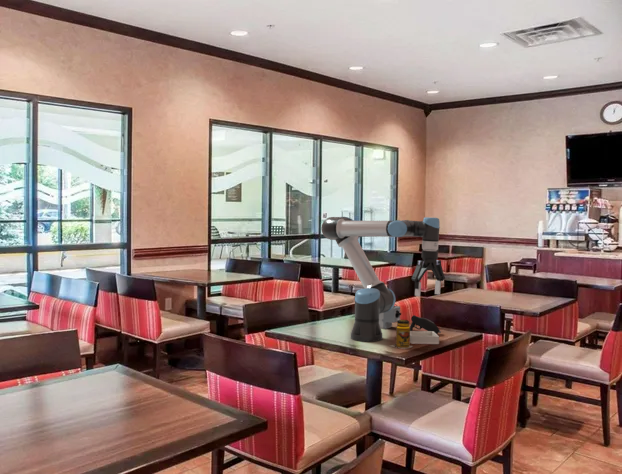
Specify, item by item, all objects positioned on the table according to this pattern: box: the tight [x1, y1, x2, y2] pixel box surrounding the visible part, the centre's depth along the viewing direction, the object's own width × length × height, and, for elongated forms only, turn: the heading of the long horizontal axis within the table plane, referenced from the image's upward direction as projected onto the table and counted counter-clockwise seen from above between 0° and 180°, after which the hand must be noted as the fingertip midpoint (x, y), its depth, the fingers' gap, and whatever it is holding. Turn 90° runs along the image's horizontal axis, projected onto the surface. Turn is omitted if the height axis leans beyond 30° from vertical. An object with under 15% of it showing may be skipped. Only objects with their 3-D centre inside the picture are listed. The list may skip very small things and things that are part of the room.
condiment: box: [390, 319, 414, 350], centre depth 265 cm, size 7×8×12 cm
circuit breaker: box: [379, 305, 402, 330], centre depth 309 cm, size 8×14×15 cm, turn 58°
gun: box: [409, 314, 442, 335], centre depth 294 cm, size 3×16×10 cm, turn 89°
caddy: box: [410, 330, 440, 345], centre depth 277 cm, size 13×12×4 cm
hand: (427, 295), depth 277 cm, fingers open, 13 cm apart
